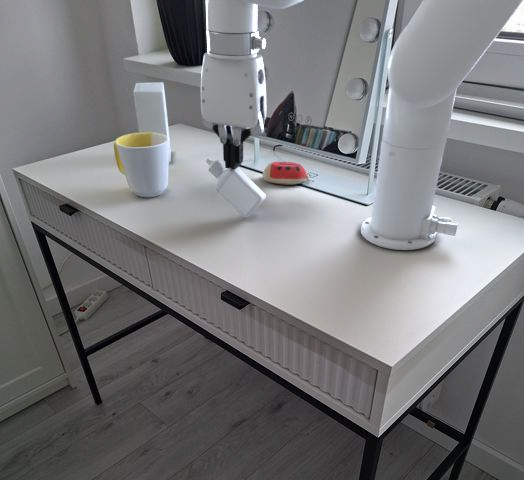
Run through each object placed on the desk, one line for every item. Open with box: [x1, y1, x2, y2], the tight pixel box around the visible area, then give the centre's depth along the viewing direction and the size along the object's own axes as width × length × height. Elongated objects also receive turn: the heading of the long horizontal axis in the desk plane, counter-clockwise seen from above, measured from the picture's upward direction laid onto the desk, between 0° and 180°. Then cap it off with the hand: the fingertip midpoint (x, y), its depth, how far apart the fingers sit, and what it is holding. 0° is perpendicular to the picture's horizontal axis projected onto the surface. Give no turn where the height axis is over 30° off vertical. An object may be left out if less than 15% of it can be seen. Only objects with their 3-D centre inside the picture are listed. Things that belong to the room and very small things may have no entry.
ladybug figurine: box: [262, 161, 310, 186], centre depth 106 cm, size 7×10×4 cm
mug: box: [113, 132, 170, 198], centre depth 101 cm, size 14×10×10 cm
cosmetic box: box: [132, 81, 172, 164], centre depth 115 cm, size 8×7×16 cm
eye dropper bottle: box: [205, 157, 267, 219], centre depth 90 cm, size 4×6×12 cm
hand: (233, 166), depth 88 cm, fingers closed
